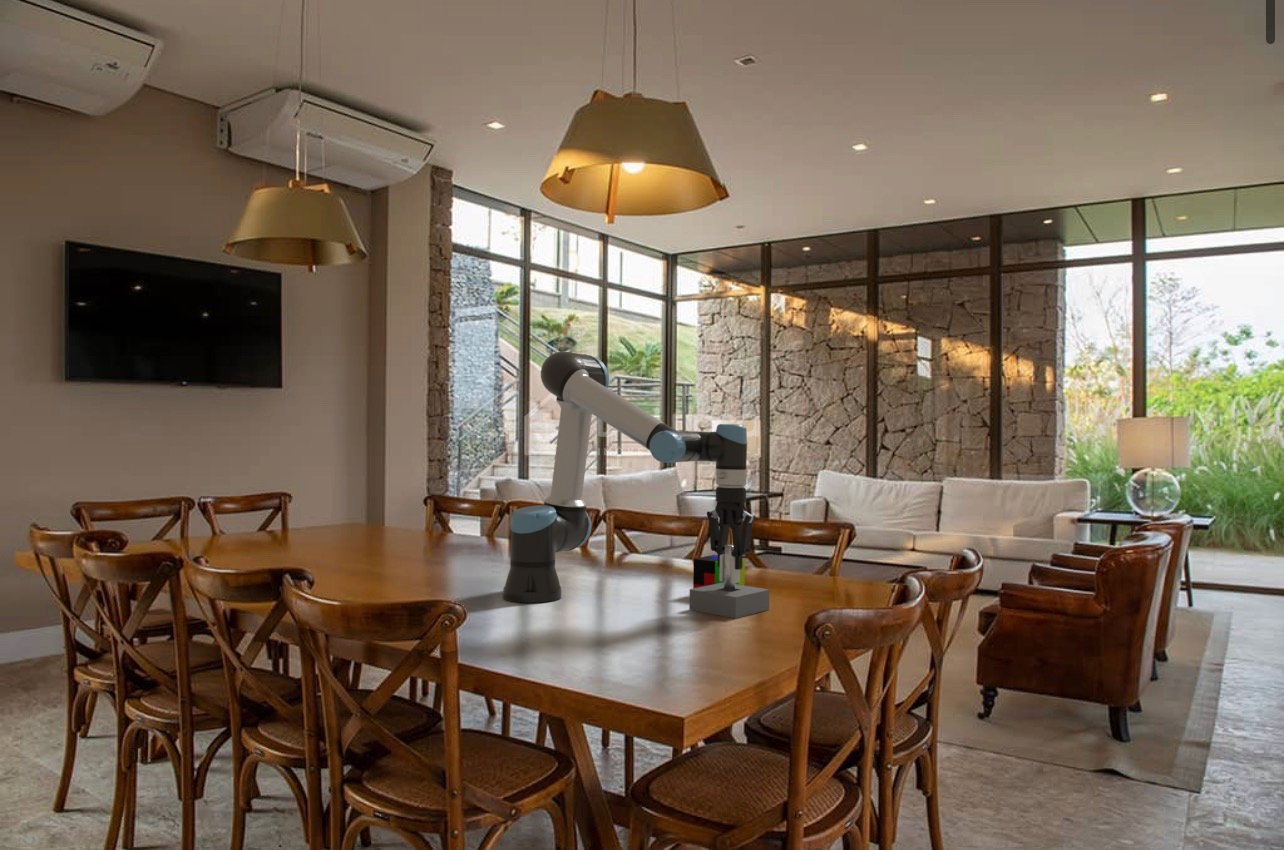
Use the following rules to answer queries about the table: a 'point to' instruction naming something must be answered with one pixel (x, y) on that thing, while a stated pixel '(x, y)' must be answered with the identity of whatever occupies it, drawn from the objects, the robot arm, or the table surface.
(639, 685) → the table surface
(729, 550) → the pin
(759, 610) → the socket block
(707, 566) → the puzzle toy
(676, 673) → the table surface
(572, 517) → the robot arm
